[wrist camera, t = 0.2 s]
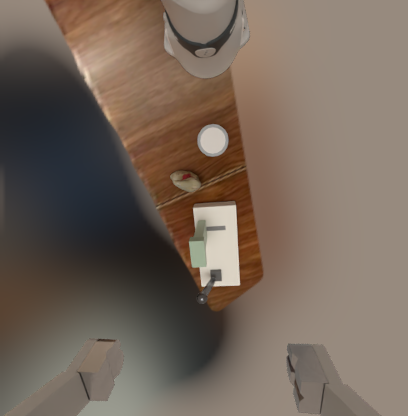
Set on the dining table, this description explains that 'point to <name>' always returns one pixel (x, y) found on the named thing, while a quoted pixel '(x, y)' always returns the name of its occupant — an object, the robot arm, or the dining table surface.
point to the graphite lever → (206, 291)
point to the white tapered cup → (212, 140)
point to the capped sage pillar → (199, 245)
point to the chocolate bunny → (186, 180)
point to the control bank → (219, 242)
